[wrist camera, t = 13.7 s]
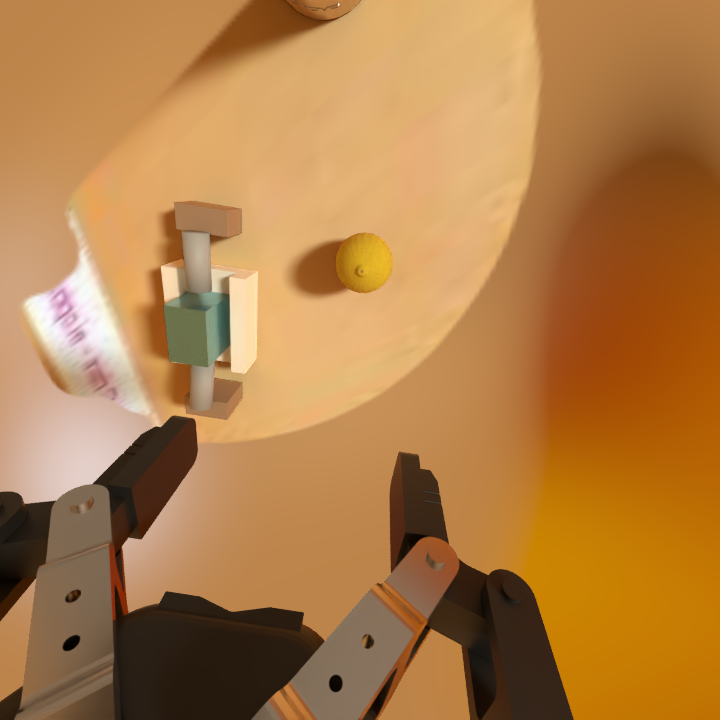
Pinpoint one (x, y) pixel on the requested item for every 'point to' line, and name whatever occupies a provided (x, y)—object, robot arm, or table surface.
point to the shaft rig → (205, 277)
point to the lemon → (364, 262)
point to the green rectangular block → (197, 327)
